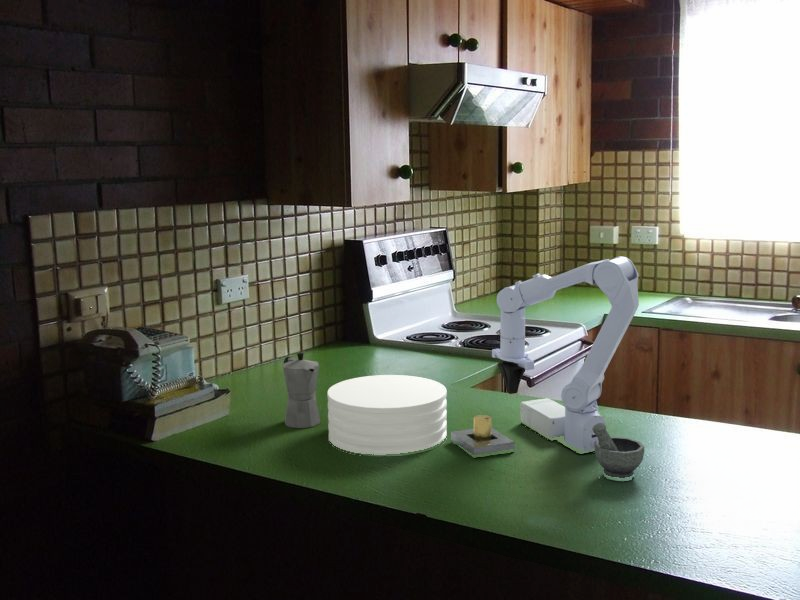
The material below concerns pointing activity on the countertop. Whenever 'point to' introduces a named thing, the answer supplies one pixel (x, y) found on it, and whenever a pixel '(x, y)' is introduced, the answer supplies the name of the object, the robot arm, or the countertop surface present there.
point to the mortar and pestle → (617, 453)
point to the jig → (481, 442)
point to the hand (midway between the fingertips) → (512, 392)
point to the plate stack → (387, 414)
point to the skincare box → (544, 416)
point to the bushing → (482, 428)
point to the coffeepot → (301, 392)
